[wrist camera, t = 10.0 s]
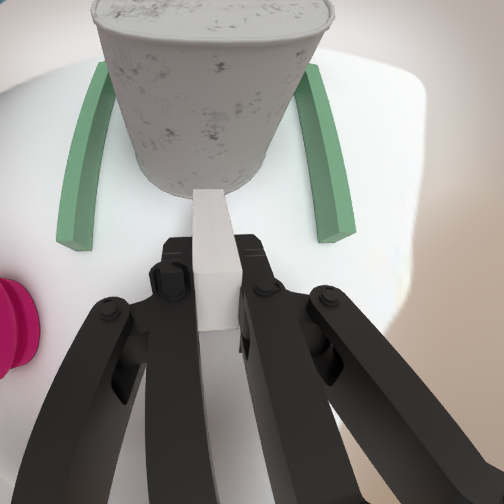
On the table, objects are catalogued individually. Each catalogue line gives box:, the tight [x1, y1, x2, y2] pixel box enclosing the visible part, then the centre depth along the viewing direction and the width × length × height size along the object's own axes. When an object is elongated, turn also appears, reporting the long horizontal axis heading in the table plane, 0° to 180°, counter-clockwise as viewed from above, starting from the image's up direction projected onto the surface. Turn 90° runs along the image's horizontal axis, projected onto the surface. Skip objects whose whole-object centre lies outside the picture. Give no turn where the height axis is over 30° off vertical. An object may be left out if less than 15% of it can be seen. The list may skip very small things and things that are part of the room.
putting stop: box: [56, 61, 356, 251], centre depth 11 cm, size 19×14×15 cm
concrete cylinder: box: [91, 0, 335, 199], centre depth 12 cm, size 10×10×12 cm
